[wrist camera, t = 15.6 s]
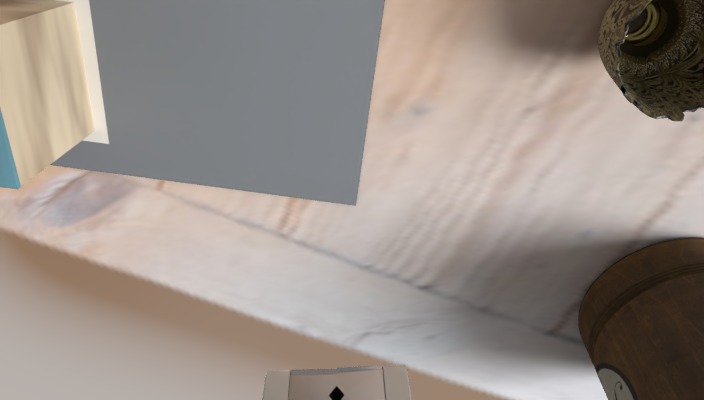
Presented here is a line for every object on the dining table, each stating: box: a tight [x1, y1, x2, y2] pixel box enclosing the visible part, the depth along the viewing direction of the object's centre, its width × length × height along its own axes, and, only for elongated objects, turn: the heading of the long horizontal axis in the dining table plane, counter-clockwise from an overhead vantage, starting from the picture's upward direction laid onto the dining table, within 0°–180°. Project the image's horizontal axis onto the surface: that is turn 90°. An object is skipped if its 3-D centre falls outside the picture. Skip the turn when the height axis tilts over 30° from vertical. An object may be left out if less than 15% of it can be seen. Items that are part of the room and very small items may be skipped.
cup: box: [598, 0, 704, 121], centre depth 28 cm, size 8×7×8 cm
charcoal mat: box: [50, 0, 385, 206], centre depth 35 cm, size 32×16×1 cm, turn 83°
